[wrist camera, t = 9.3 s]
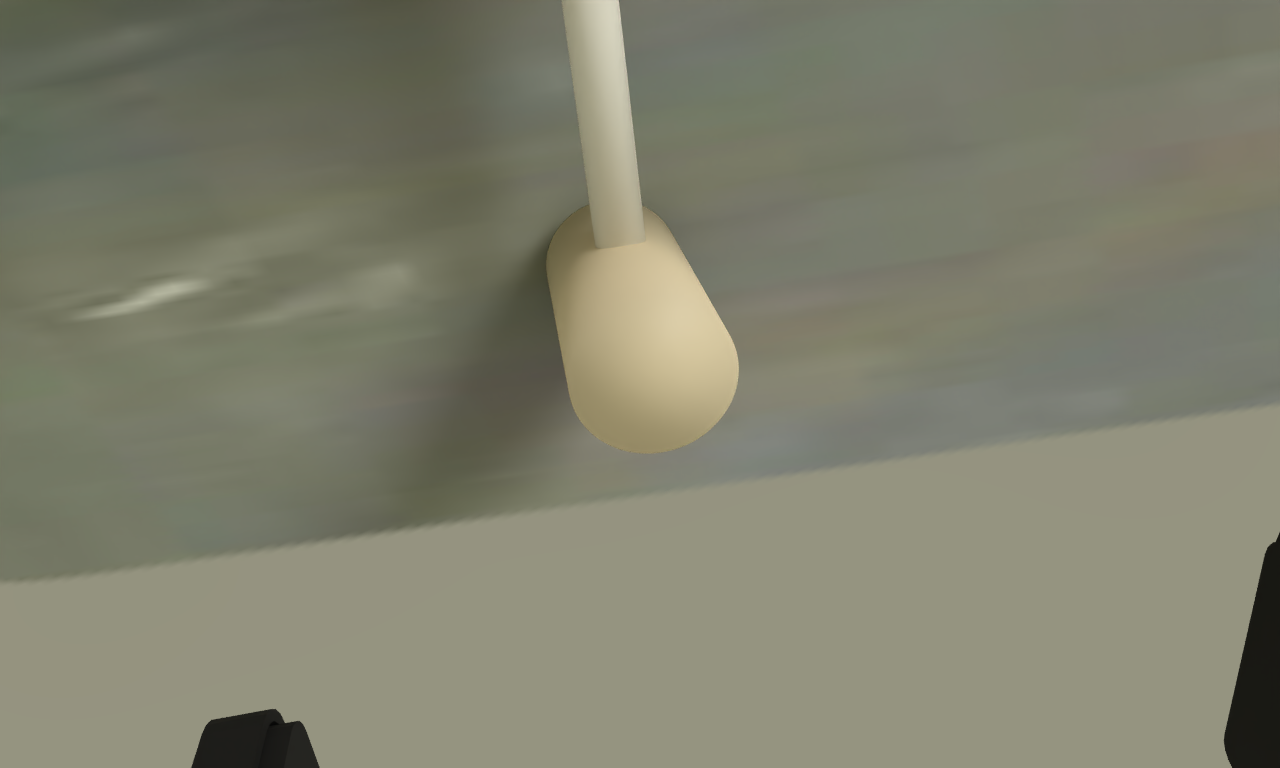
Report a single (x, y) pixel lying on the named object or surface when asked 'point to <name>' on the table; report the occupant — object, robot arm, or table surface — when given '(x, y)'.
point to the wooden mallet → (628, 276)
